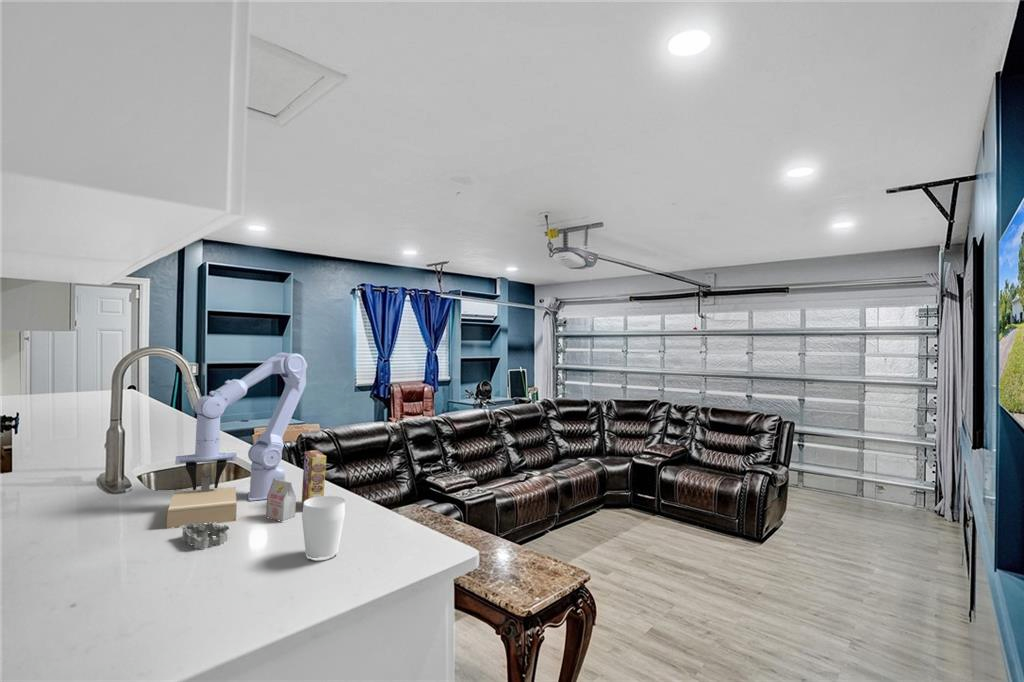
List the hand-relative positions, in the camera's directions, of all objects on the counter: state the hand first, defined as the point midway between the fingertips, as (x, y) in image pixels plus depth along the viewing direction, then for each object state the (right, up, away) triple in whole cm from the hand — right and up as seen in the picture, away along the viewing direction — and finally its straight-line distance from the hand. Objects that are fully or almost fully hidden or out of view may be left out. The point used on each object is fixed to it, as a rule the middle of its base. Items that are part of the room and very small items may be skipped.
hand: (205, 488), depth 142 cm
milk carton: (+23, -7, -6) cm, 25 cm away
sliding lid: (+3, -1, -6) cm, 7 cm away
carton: (+3, -6, -6) cm, 8 cm away
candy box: (+28, -7, +5) cm, 29 cm away
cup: (+43, -7, -28) cm, 52 cm away
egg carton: (+13, -6, -23) cm, 27 cm away
